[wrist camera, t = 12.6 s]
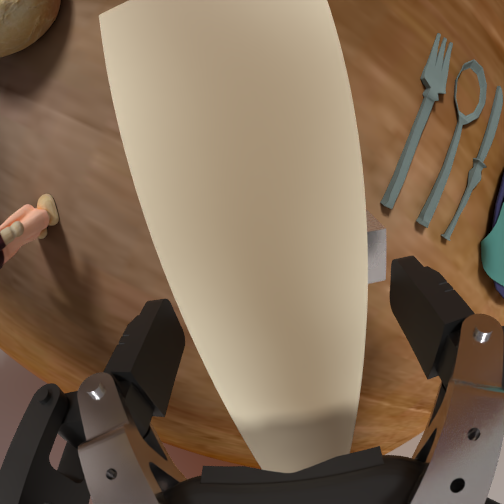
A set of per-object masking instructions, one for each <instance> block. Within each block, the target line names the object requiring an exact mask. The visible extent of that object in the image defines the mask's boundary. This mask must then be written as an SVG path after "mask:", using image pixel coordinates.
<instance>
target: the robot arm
mask: <svg viewBox="0 0 504 504" xmlns="http://www.w3.org/2000/svg"><path fill="white" fill-rule="evenodd" d="M390 305H391V309H392V312H393V314H394V316H395V317H396V319H397V321H398V323H399V325H400V326H401V328H402V330H403V332H404V334H405V336H406V338H407V339H408V341H409V343H410V345H411V347H412V349H413V351H414V353H415V355H416V357H417V359H418V361H419V363H420V365H421V367H422V369H423V371H424V373H425V375H426V377H427V379H431V378H433V377H436V376H439V377H440V378H441V380H442V381H441V384H440V386H439V390H438V393H437V396H436V400H435V403H434V406H433V409H432V412H431V415H430V418H429V421H428V423H427V426H426V429H425V431H424V434H423V436H422V438H421V440H420V442H419V444H418V446H417V448H416V450H415V452H414V454H413V457H412V458H408V457H403V456H394V455H382V454H381V449H380V446H378V447H375V448H371V449H367V450H363V451H359V452H355V453H350V454H346V455H341V456H336V457H334V458H331V459H329V460H326V461H324V462H321V463H319V464H316V465H314V466H311V467H308V468H305V469H303V470H300V471H297V472H293V473H282V472H274V471H268V470H261V469H256V468H250V467H245V466H242V467H241V466H238V467H223V466H220V467H219V466H203V470H202V476H197V477H194V478H191V479H186V478H185V477H184V475H183V474H182V473H181V472H180V471H179V470H178V469H177V467H176V466H175V465H174V463H173V461H172V460H171V458H170V456H169V455H168V453H167V451H166V449H165V447H164V446H163V444H162V442H161V440H160V438H159V436H158V434H157V432H156V431H155V429H154V427H153V425H152V424H151V423H150V422H151V418H152V416H159V417H165V414H166V410H167V406H168V403H169V399H170V395H171V392H172V388H173V385H174V381H175V378H176V374H177V371H178V367H179V364H180V360H181V357H182V353H183V350H184V346H185V336H184V332H183V329H182V327H181V325H180V323H179V321H178V318H177V316H176V314H175V312H174V310H173V307H172V305H171V303H170V301H169V300H168V299H160V300H152V301H147V302H146V304H145V306H144V307H143V309H142V311H141V313H140V315H138V316H137V317H135V318H134V319H133V320H132V321H131V322H130V323H129V324H128V326H127V328H126V330H125V331H124V333H123V337H121V339H120V341H119V345H117V346H116V348H115V350H114V352H113V354H112V356H111V358H110V360H109V362H108V364H107V366H106V368H105V370H104V372H101V373H96V374H93V375H91V376H89V377H88V378H87V379H85V380H84V381H83V383H82V384H81V385H80V387H79V389H78V391H75V392H70V393H65V394H64V393H63V392H62V391H61V389H60V388H59V387H58V386H57V385H56V384H46V385H44V386H42V387H41V388H40V389H39V390H38V391H37V392H36V393H35V394H34V396H33V398H32V400H31V402H30V404H29V406H28V408H27V410H26V412H25V414H24V416H23V418H22V420H21V422H20V424H19V426H18V428H17V431H16V433H15V435H14V437H13V440H12V442H11V444H10V447H9V449H8V452H7V454H6V456H5V459H4V462H3V464H2V467H1V470H0V504H89V499H90V496H91V498H92V501H93V504H500V503H498V502H496V501H494V500H491V499H489V498H487V495H488V493H489V490H490V487H491V483H492V480H493V477H494V474H495V470H496V466H497V463H498V459H499V455H500V451H501V446H502V441H503V436H504V326H501V325H500V323H499V322H498V321H497V320H496V319H494V318H493V317H491V316H488V315H485V314H475V313H474V312H473V311H472V310H471V309H470V307H469V306H468V305H467V304H466V303H465V301H464V300H463V299H462V298H461V297H460V295H459V294H458V293H457V292H456V291H455V290H453V287H452V286H451V285H450V284H449V283H447V281H446V280H445V279H444V277H443V276H442V275H441V274H440V273H439V272H437V271H435V270H433V269H431V268H430V267H428V266H427V267H423V266H422V264H421V263H420V262H419V261H418V260H417V259H416V258H415V257H414V256H408V257H403V258H399V259H394V260H393V261H392V264H391V284H390ZM57 433H58V434H59V435H60V436H61V437H62V438H63V439H65V440H66V441H67V444H66V446H65V449H64V452H63V455H62V458H61V461H60V464H59V467H58V470H55V469H54V468H53V467H52V466H51V464H50V462H49V455H50V452H51V449H52V446H53V444H54V441H55V438H56V436H57Z"/></svg>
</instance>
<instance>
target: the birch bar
mask: <svg viewBox="0 0 504 504" xmlns="http://www.w3.org/2000/svg"><path fill="white" fill-rule="evenodd" d="M99 19H100V28H101V36H102V43H103V50H104V56H105V62H106V68H107V73H108V79H109V84H110V89H111V94H112V99H113V104H114V108H115V113H116V117H117V121H118V125H119V130H120V134H121V138H122V142H123V145H124V149H125V153H126V157H127V160H128V164H129V167H130V171H131V174H132V178H133V181H134V185H135V188H136V191H137V194H138V198H139V201H140V204H141V207H142V210H143V213H144V216H145V219H146V222H147V225H148V228H149V231H150V234H151V237H152V240H153V243H154V245H155V248H156V251H157V254H158V256H159V259H160V262H161V264H162V267H163V270H164V272H165V275H166V277H167V280H168V282H169V285H170V287H171V290H172V292H173V295H174V297H175V300H176V302H177V305H178V307H179V309H180V312H181V314H182V316H183V319H184V321H185V323H186V326H187V328H188V330H189V332H190V335H191V337H192V339H193V341H194V343H195V346H196V348H197V350H198V352H199V354H200V356H201V358H202V361H203V363H204V365H205V367H206V369H207V371H208V373H209V375H210V377H211V379H212V381H213V383H214V385H215V387H216V389H217V391H218V393H219V395H220V397H221V398H222V400H223V402H224V404H225V406H226V408H227V410H228V412H229V413H230V415H231V417H232V419H233V421H234V423H235V424H236V426H237V428H238V430H239V431H240V433H241V435H242V437H243V438H244V440H245V442H246V444H247V445H248V447H249V449H250V450H251V452H252V454H253V455H254V457H255V459H256V460H257V462H258V464H259V465H260V467H261V468H262V470H268V471H274V472H282V473H293V472H297V471H300V470H303V469H305V468H308V467H311V466H314V465H316V464H319V463H321V462H324V461H326V460H329V459H331V458H334V457H336V456H341V455H346V454H349V453H350V449H351V444H352V438H353V433H354V428H355V422H356V416H357V410H358V403H359V396H360V388H361V380H362V371H363V362H364V351H365V338H366V322H367V297H368V244H367V219H366V203H365V190H364V179H363V169H362V160H361V152H360V144H359V137H358V130H357V123H356V117H355V111H354V106H353V100H352V95H351V90H350V85H349V80H348V75H347V71H346V67H345V62H344V58H343V54H342V50H341V46H340V42H339V39H338V35H337V31H336V28H335V24H334V21H333V18H332V14H331V11H330V8H329V5H328V2H327V0H129V1H127V2H125V3H123V4H121V5H119V6H116V7H114V8H112V9H110V10H108V11H106V12H104V13H102V14H101V15H99Z"/></svg>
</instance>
